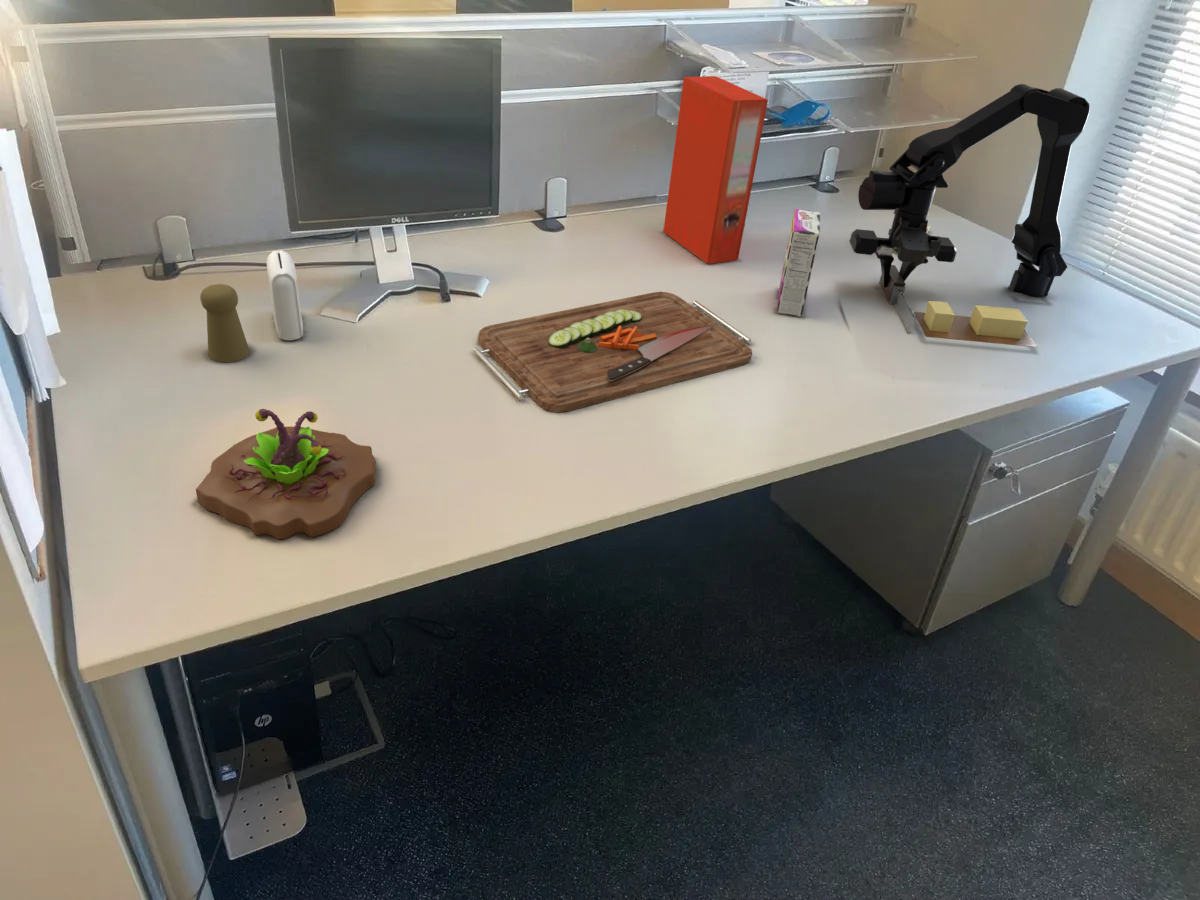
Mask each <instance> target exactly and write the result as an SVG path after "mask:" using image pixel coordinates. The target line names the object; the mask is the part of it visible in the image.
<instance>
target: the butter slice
mask: <svg viewBox="0 0 1200 900" xmlns="http://www.w3.org/2000/svg"><path fill="white" fill-rule="evenodd" d="M924 313H925V314H924V318H923V319H924V321H925V322H926V324H927V326H928V328H929V330H930V331H938V332H949V331H950V328H951V325H952V322H953V319H954V316H956V313H955V312H954V310H953V309H952V307H951V306H950V304H949V303H948V302H945V301H936V300H935V301H934V300H928V302H927V305H926V309H925V312H924Z"/></svg>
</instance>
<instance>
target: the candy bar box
mask: <svg viewBox="0 0 1200 900" xmlns="http://www.w3.org/2000/svg"><path fill="white" fill-rule="evenodd" d="M792 216H793V217H792V219H791V225H790V229H789V236H788V240H787V244H786V250H785V254H784V255H785V256H784V259H783V265H782V271H781V277H780V282H779V289H778V296H777V307H776V313H777V314H778V315H784V316H791V317H799V318H802V317H803V313H804V308H805V304H806V299H807V295H808V290H809V285H810V280H811V276H812V271H813V266H814V262H815V257H816V252H817V246H818V242H819V238H820V232H821V212H820V211H813V210H809V209H801V208H794V211H793V215H792Z"/></svg>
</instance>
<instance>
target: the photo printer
mask: <svg viewBox="0 0 1200 900" xmlns="http://www.w3.org/2000/svg"><path fill="white" fill-rule="evenodd" d="M266 272H267V280H268V286H269V287H268V288H269V293H270V294H269V295H270V302H271V308H272V315H273V319H274V325H275V329H276V332H277V336H278V337H279V339H282V340H283V341H295V340H298V339H300V338H301V337H303V335H304V323H303V317H302V309H301V303H300V302H301V301H300V294H299V286H298V277H297V271H296V265H295V262H294V259H293V258H292V256H291V255H290V253H288V252H287V251H285V250H283V249H279V250H273V251H272V252H270V253H269V255H268V256H267V258H266Z"/></svg>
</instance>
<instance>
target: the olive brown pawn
mask: <svg viewBox="0 0 1200 900" xmlns="http://www.w3.org/2000/svg"><path fill="white" fill-rule="evenodd" d="M199 298H200V303H201V305H202V308H203V309H204V310H205V311H206V330H207V333H206V334H207V354H208V358H209V359H210V360H212V361H214V362H217V363H235V362H238V361H241V360H243V359H246V358H247V357H248V356H249V355H250V352H251V350H250V347H249V345H248V341H247V338H246V335H245V332H244V329H243V327H242V323H241V320H240V317H239V314H238V311H237V306H238V304H239V296H238V292H237V291H236V289H235V288H234V287H232V286H231V285H229V284H224V283H215V284H211V285H208V286H206V287H204V288H203V289H202V291H201V292H200V297H199Z"/></svg>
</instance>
